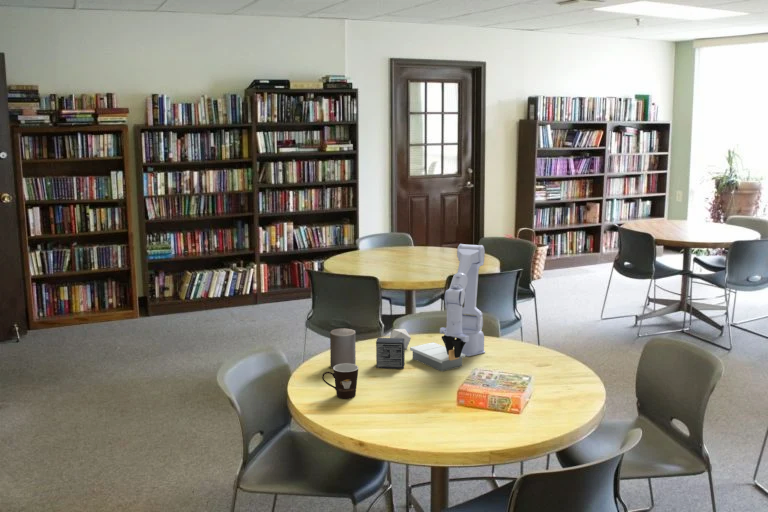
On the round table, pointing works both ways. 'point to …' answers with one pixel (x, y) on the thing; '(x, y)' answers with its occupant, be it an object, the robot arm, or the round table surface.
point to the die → (401, 336)
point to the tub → (439, 366)
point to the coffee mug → (344, 380)
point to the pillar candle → (342, 347)
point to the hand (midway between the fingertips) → (453, 355)
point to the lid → (435, 352)
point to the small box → (390, 353)
